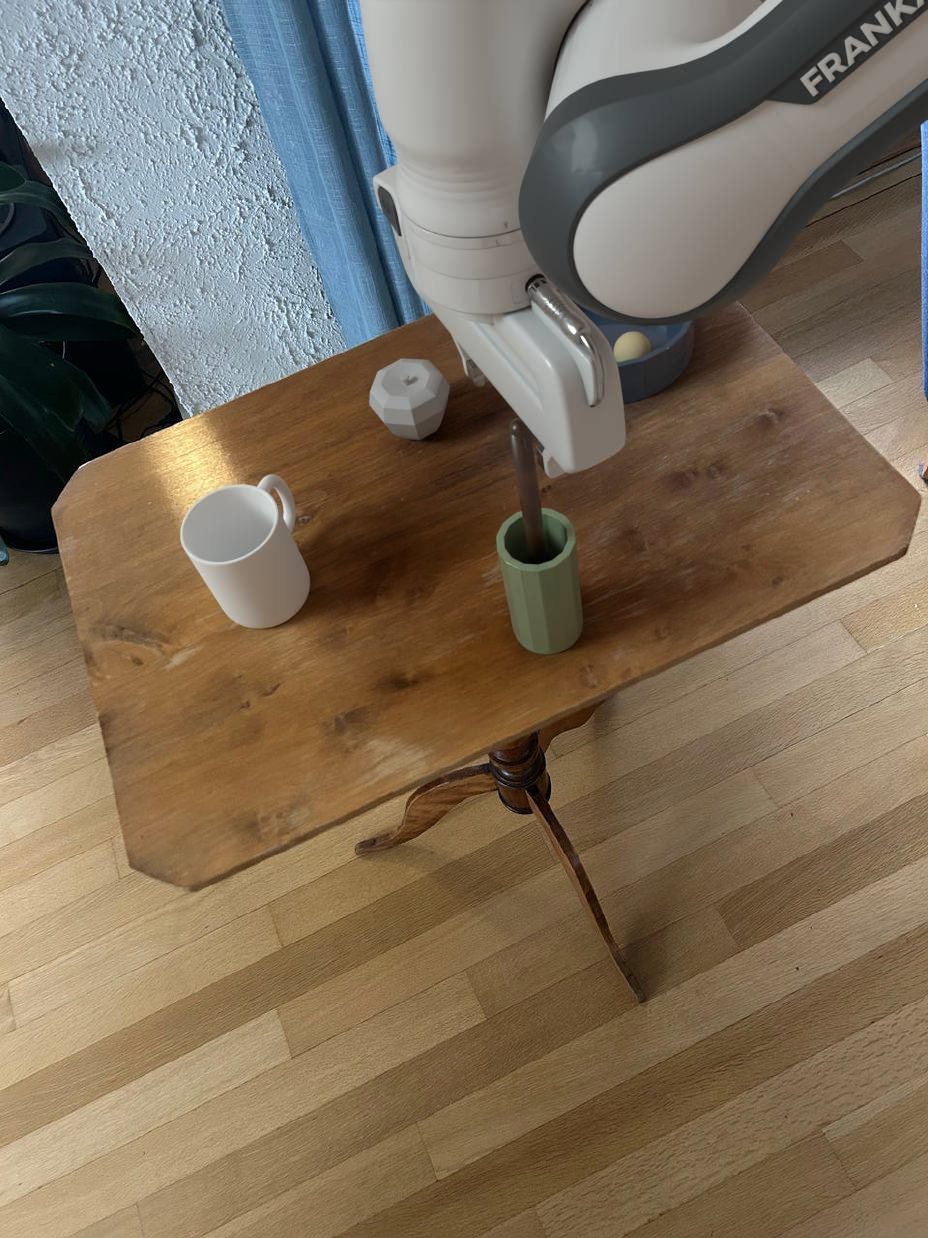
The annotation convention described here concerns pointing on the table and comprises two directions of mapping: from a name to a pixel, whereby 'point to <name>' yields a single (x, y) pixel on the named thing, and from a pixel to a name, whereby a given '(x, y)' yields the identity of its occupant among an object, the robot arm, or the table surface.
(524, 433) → the dark wooden dowel
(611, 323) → the bowl
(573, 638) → the crock
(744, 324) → the table surface
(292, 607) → the cup
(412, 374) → the grey apple
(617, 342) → the dough ball
